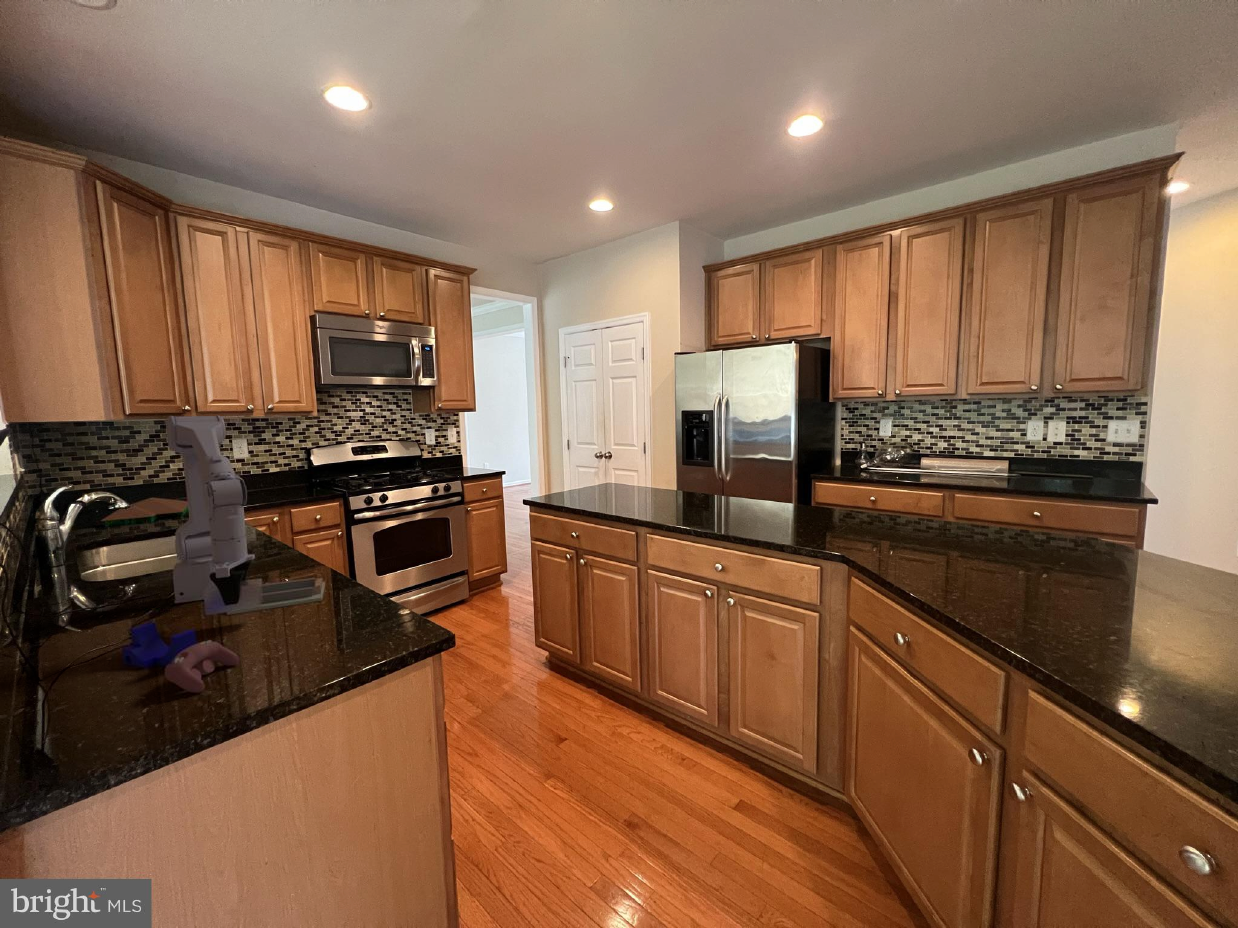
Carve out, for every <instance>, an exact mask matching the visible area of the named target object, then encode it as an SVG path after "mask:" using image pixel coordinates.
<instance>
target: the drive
mask: <svg viewBox="0 0 1238 928" xmlns="http://www.w3.org/2000/svg"><path fill="white" fill-rule="evenodd" d="M262 580H263V579H262V578H254V579H246V580H245V581H241V586H240V596H239V601H238V604H232V605H225V604H224V602H223V599H222V597H221V594H220V592H219V590H218V588H217V586H216V585H215V584H213V585H209V586H208V587H207V588H206V589H205V590H204V591H203V592H204V599H203V601H204V612H205V613H204V614H205V615H206V616H207V615H215V614H222V613H223V614H224V613H227V612H230V611H237V610H244V609H250V608H257V607H260V606H261V604H262V602H263V591H262V585H263V582H262Z"/></svg>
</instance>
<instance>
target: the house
mask: <svg viewBox="0 0 1238 928" xmlns="http://www.w3.org/2000/svg"><path fill="white" fill-rule="evenodd" d="M129 506H130V507H129V508H127V509H120V508H119V509H117V510H116V511H113V512H112V513H111V514H109V515H108V516H106V517H104V518H103V519H101V520H100V521H101V522H104V528H107V527H110V525H111V527H112V526H113V525H114V527H118V525H119V526H123V527H124V525H125V526H127V525H132V526H133V525H134V524H135V525H136V523H137V520H140V521H142V522H145V521H146V523H154V522H155V521H156V520H157V519H158V515H161V517H162V518H164V516H166V515H167V516H168V515H169V514H174V515H175V517H176V514H177V515H180V517H181V515H182V517H183V516H184V515H185V514H186V513H187V512H189V511H188V501H187V500H180V499H179V500H177V499H171V498H160V497H149V498H146V499H143V500H140V501H136V502H134V503H131V504H129ZM163 515H164V516H163ZM145 518H148V519H150V521H148V519H145ZM120 520H124V521H120ZM115 524H116V525H117V526H116V525H115ZM121 524H122V525H121Z"/></svg>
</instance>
